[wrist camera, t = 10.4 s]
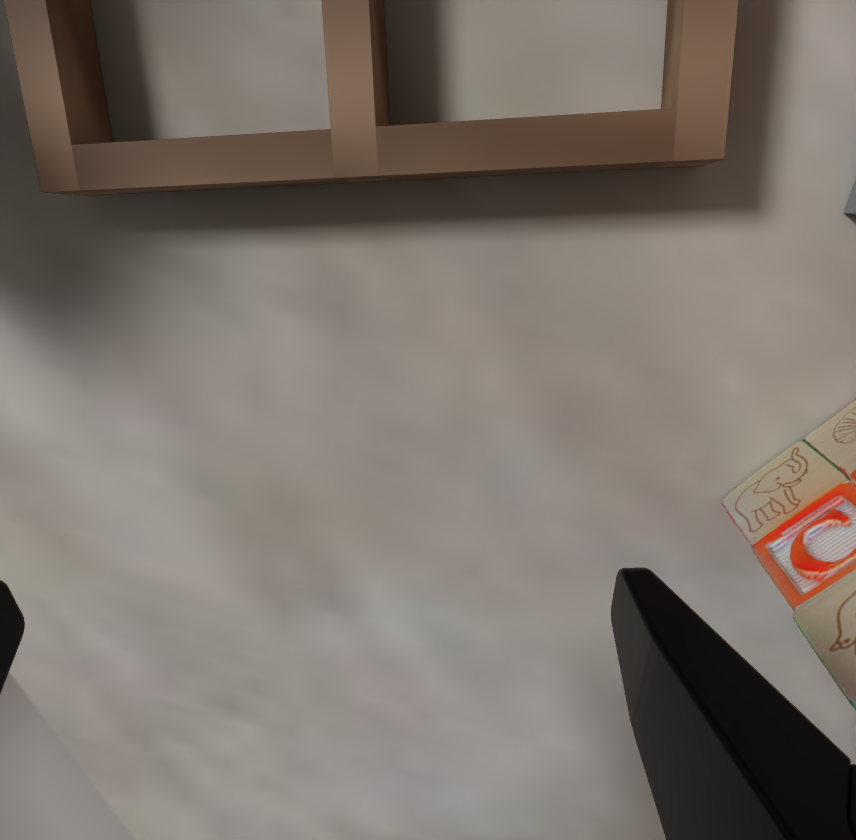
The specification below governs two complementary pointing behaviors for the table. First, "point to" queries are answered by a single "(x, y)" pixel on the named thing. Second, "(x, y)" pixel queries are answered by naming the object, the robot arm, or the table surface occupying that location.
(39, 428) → the table surface
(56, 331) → the table surface
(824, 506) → the stack of blocks
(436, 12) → the table surface
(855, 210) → the slate mat
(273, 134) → the walnut rack
